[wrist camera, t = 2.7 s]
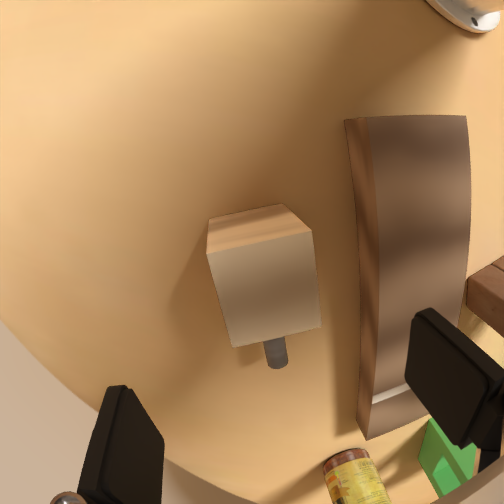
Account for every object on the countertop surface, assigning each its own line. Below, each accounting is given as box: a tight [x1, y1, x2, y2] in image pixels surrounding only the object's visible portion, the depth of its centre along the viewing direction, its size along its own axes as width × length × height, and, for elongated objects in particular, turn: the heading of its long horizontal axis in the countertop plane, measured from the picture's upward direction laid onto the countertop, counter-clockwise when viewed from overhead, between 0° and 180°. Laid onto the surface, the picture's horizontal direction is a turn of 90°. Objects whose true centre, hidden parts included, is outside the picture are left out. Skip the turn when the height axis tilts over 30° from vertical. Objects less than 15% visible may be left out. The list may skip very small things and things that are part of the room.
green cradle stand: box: [418, 417, 477, 498], centre depth 27 cm, size 24×13×12 cm, turn 107°
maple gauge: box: [206, 203, 322, 369], centre depth 17 cm, size 10×4×6 cm, turn 11°
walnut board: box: [344, 115, 471, 441], centre depth 21 cm, size 28×8×3 cm, turn 11°
